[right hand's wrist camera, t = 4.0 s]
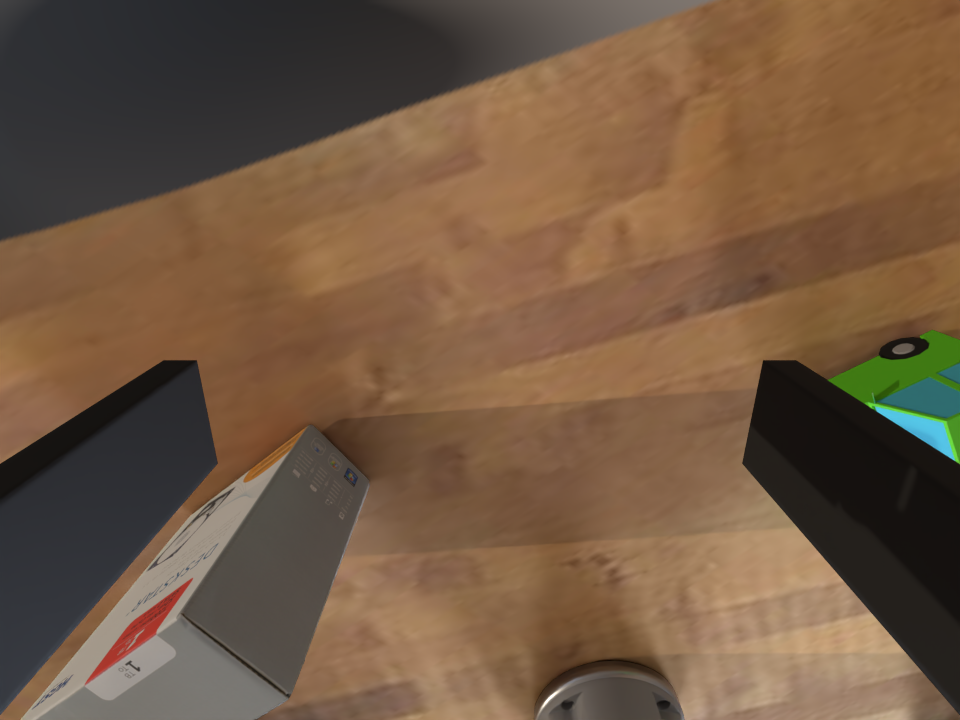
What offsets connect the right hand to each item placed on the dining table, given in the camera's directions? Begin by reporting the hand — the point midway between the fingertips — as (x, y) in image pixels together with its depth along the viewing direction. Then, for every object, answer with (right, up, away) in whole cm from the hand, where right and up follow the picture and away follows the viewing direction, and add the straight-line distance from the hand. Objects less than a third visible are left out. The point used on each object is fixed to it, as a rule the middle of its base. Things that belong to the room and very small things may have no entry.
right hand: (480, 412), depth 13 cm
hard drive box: (-18, -11, +34) cm, 40 cm away
